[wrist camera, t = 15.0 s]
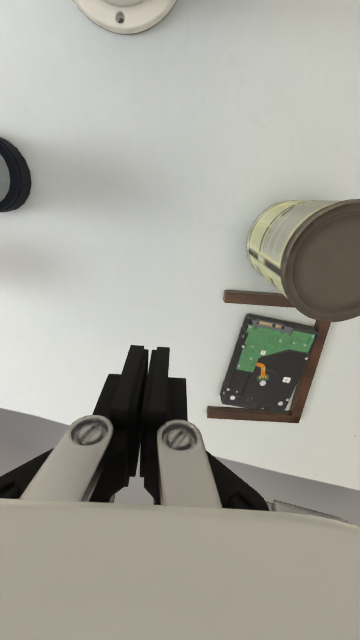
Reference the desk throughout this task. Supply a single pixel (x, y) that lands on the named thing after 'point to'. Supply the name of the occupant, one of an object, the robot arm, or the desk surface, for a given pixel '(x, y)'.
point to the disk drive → (267, 363)
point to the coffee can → (311, 255)
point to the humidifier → (13, 177)
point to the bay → (305, 376)
